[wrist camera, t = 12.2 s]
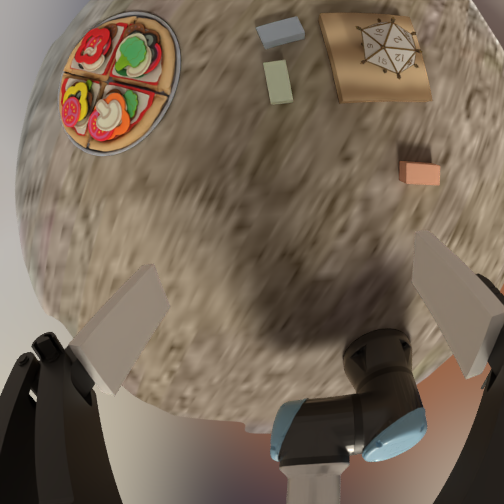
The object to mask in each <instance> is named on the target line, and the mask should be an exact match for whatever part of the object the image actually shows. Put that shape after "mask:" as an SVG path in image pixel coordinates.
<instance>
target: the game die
mask: <svg viewBox="0 0 504 504" xmlns="http://www.w3.org/2000/svg"><path fill="white" fill-rule="evenodd" d="M395 20H396V19H395V18H394V17H392V18H391V22H381V19H379V18H378V19H377V21H378V22H379V23H376V24H373V25H371V26H368V27H365V28H363V29H362V28H361V27H359V26H355V27H356V29H358V30H360V31H361V35H362V42H363V43H361V45H362V46H363V49H364V58H365V60H362V61H361V63H360V64H364V63H366V62H369V63H371V64H373V65H376V66H378V67H381V68H383V69H384V70H383V72H384V73H387V70H388V71H390V72H393V73H395V74H397V78H398V79H399V80H400V79H401V75H400V73H401V72H403V71H404V70H406V69H408V68H409V67H411V66H413V65H414V67H416V68H419V66H418V65H417V64H415V59H416V53H417V52H418V53H420V54H421V53H422V51H421V50H420V49H416V46H415V43H414V39H413V35H416V32H412V33H409V32H408V31H406V30H405V29H403V28H402V27H400V26H399V25H397V24H396V23H394V22H395Z"/></svg>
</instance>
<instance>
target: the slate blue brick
mask: <svg viewBox="0 0 504 504" xmlns="http://www.w3.org/2000/svg"><path fill="white" fill-rule="evenodd" d="M256 30H257V32H258V35H259V37H260V39H261V41H262V43H263V46H264V48H265V49H268V48H272V47H275V46H279V45H282V44H286V43H290V42H294V41H298V40H302V39H304V37H305V32H304V30H303V28H302V25H301V23H300V21H299V20H298V18H297V16H296V17H292V18H288V19H284V20H280V21H276V22H272V23H269V24H265V25H262V26H259V27H256Z"/></svg>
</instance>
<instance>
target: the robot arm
mask: <svg viewBox="0 0 504 504" xmlns="http://www.w3.org/2000/svg"><path fill="white" fill-rule="evenodd" d="M412 284H413V285H414V287H415V288H416V290H417V291H418V293H419V295H420V296H421V298H422V299H423V301H424V303H425V304H426V306H427V308H428V309H429V311H430V313H431V314H432V316H433V318H434V319H435V321H436V323H437V325H438V326H439V328H440V330H441V332H442V334H443V335H444V337H445V339H446V341H447V343H448V345H449V347H450V348H451V350H452V352H453V354H454V356H455V358H456V360H457V362H458V364H459V366H460V368H461V371H462V373H463V375H464V377H465V379H468V378H471V377H473V376H476V375H479V374H481V373H482V372H483V370H484V368H485V366H486V364H487V362H488V363H489V365H490V366H491V368H492V369H491V371H490V373H489V374H488V376H487V378H486V380H485V382H484V383H483V385H482V387H481V389H483V388H484V387H485V389H484V392H483V396H482V399H481V403H480V406H479V409H478V411H477V414H476V417H475V420H474V423H473V425H472V428H471V431H470V433H469V435H468V438H467V440H466V443H465V445H464V447H463V450H462V452H461V454H460V456H459V458H458V460H457V462H456V464H455V466H454V468H453V470H452V472H451V474H450V476H449V478H448V479H447V481H446V483H445V485H444V486H443V488H442V490H441V492H440V493H439V495H438V496H437V498H436V500H435V501H434V503H433V504H504V296H503V294H502V293H500V291H499V290H498V289H497V288H495V286H494V285H493V283H492V282H491V281H490V280H489V279H487V278H486V277H484V276H482V275H480V274H479V273H478V274H475V273H474V272H473V271H472V270H471V269H470V268H469V267H468V266H467V265H466V264H465V263H464V262H463V261H462V260H461V259H460V258H459V257H458V256H457V255H455V254H454V253H453V252H452V251H451V250H450V249H449V248H448V247H447V246H446V245H445V244H444V243H443V242H441V241H440V240H439V239H438V238H437V237H436V236H435V235H434V234H432V233H431V232H430V231H429V230H423V231H415V242H414V260H413V273H412ZM169 308H170V304H169V302H168V299H167V297H166V294H165V292H164V289H163V287H162V284H161V281H160V279H159V276H158V273H157V270H156V268H155V265H154V264H147V265H142V266H141V267H140V268H139V269H138V270H137V271H136V272H135V273H134V274H133V275H132V276H131V277H130V278H129V279H128V280H127V281H126V282H125V283H124V284H123V285H122V286H121V287H120V288H119V289H118V291H117V292H116V293H115V294H114V295H113V296H112V297H111V298H110V299H109V300H108V301H107V302H106V303H105V304H104V305H103V306H102V307H101V308H100V310H99V311H98V312H97V313H96V314H95V315H94V316H93V317H92V318H91V319H90V321H89V322H88V323H87V324H86V325H85V326H84V327H83V328H82V329H81V331H80V332H79V333H78V334H77V335H76V336H75V337H74V339H73V340H72V341H71V342H70V343H69V345H68V346H67V348H66V349H65V350H64V348H63V347H62V345H61V344H60V342H59V340H58V339H57V337H56V335H55V334H54V333H53V332H47V333H44V334H42V335H41V336H39V337H38V338H37V339H36V340H35V341H34V342H33V344H32V348H33V350H34V351H35V353H36V354H37V356H38V357H39V359H40V361H38V360H37V359H36V357H35V356H34V354H33V353H31V352H27V353H24V354H22V355H21V356H20V357H19V358H18V359H17V361H16V363H15V365H14V367H13V369H12V371H11V373H10V375H9V377H8V379H7V382H6V384H5V386H4V389H3V391H2V393H1V396H0V504H123V503H122V500H121V498H120V495H119V492H118V489H117V486H116V482H115V479H114V476H113V473H112V470H111V465H110V462H109V458H108V454H107V450H106V446H105V442H104V437H103V432H102V428H101V422H100V417H99V411H98V405H97V398H96V393H95V391H94V390H93V389H92V388H93V386H94V385H95V384H96V385H97V386H98V388H99V389H100V390H101V392H102V393H105V394H109V395H113V396H115V395H116V393H117V392H118V390H119V388H120V387H121V385H122V383H123V382H124V380H125V378H126V377H127V375H128V373H129V372H130V370H131V368H132V367H133V365H134V363H135V362H136V360H137V359H138V357H139V355H140V354H141V352H142V351H143V349H144V347H145V346H146V344H147V343H148V341H149V339H150V338H151V336H152V335H153V333H154V331H155V330H156V328H157V327H158V325H159V324H160V322H161V321H162V319H163V317H164V316H165V314H166V313H167V311H168V310H169ZM343 364H344V370H345V374H346V376H347V377H348V379H349V381H350V382H351V384H352V385H353V387H354V389H355V390H356V394H351V395H343V396H335V397H327V398H316V399H309V398H306V399H304V400H297V401H288V402H286V403H284V404H283V405H282V406H281V407H280V409H279V410H278V412H277V415H276V417H275V421H274V424H273V429H272V435H271V449H270V454H271V458H272V459H273V460H276V461H280V467H279V469H280V470H281V471H282V472H283V473H284V474H285V475H286V476H287V478H288V487H287V501H286V504H340V475H341V473H342V472H343V471H344V470H345V469H346V468H347V467H348V466H349V465H350V463H349V456H350V455H356V454H362V457H363V458H364V459H365V460H366V461H369V462H372V461H374V462H376V461H382V460H386V459H389V458H392V457H394V456H397V455H399V454H401V453H403V452H405V451H407V450H408V449H410V448H411V447H413V446H414V445H415V444H417V443H418V442H419V441H420V440H421V439H422V438H423V436H424V435H425V433H426V430H427V421H426V417H425V409H424V408H423V405H422V401H421V398H420V395H419V392H418V389H417V386H416V383H415V380H414V377H413V374H412V347H411V344H410V342H409V339H408V337H407V336H406V335H405V334H404V333H402V332H401V331H398V330H394V329H381V330H376V331H373V332H370V333H368V334H366V335H364V336H362V337H360V338H359V339H357V340H356V341H355V342H353V343H352V344H351V345H350V347H349V348H348V349H347V351H346V353H345V355H344V359H343ZM30 389H31V390H32V391H33V392H34V394H35V395H36V396H37V402H35V401H34V399H33V398H32V397H31V396H30V395H29V392H30Z"/></svg>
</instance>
